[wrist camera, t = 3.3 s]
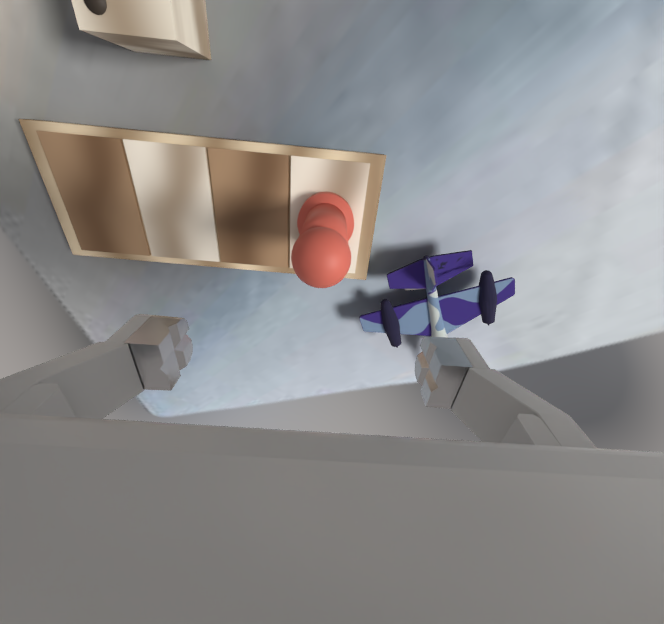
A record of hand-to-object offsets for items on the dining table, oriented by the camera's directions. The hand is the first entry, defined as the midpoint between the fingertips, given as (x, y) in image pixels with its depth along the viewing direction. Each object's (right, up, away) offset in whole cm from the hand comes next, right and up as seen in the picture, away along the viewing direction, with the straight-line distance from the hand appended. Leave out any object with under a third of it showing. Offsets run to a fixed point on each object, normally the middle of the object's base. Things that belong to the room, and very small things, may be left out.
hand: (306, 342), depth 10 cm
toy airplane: (+11, +2, +19) cm, 22 cm away
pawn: (0, +8, +13) cm, 16 cm away
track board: (-9, +10, +14) cm, 19 cm away
